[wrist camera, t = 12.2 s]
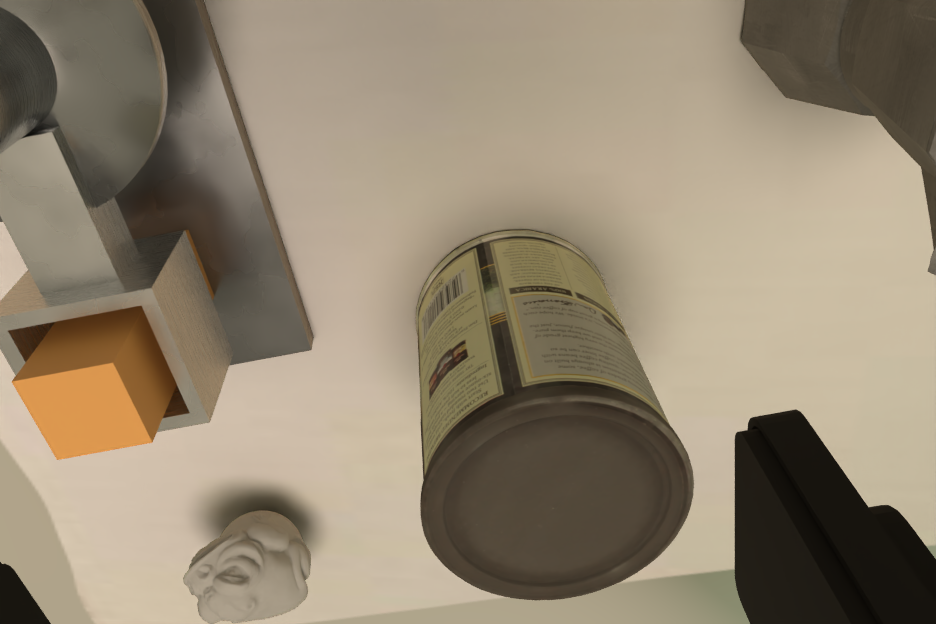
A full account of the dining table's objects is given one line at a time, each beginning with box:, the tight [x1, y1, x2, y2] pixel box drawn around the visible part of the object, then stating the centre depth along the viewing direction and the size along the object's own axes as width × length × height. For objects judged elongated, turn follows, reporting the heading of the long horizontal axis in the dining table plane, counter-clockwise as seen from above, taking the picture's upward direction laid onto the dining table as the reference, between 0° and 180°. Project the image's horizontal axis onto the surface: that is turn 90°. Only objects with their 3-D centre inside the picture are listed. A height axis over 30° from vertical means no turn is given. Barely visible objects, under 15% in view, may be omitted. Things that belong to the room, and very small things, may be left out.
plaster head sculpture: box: [183, 510, 311, 624], centre depth 45 cm, size 6×7×7 cm
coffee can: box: [416, 230, 694, 600], centre depth 36 cm, size 10×10×14 cm
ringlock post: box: [0, 0, 314, 432], centre depth 27 cm, size 22×11×21 cm, turn 10°
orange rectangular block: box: [12, 230, 214, 460], centre depth 33 cm, size 4×4×11 cm
